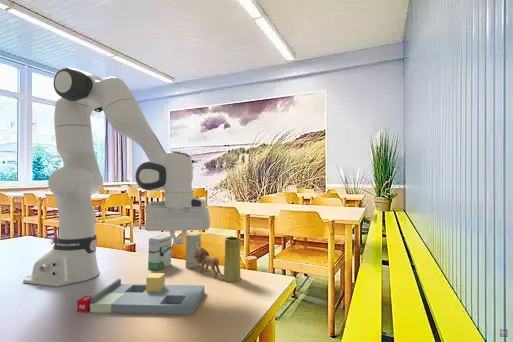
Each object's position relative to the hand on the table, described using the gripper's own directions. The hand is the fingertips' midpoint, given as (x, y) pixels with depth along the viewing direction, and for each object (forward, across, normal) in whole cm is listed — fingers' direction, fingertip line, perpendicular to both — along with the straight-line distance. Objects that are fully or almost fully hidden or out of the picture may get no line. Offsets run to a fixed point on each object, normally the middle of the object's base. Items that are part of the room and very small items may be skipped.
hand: (178, 244), depth 91 cm
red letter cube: (+14, -22, -13) cm, 29 cm away
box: (+14, +2, +22) cm, 26 cm away
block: (+12, -6, -6) cm, 14 cm away
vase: (+14, +18, +6) cm, 23 cm away
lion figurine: (+14, +9, +12) cm, 21 cm away
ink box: (+14, -10, +23) cm, 29 cm away
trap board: (+14, -6, -10) cm, 18 cm away
